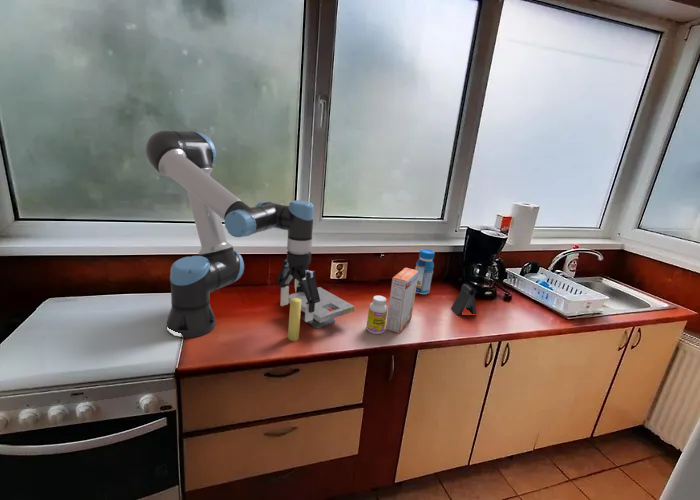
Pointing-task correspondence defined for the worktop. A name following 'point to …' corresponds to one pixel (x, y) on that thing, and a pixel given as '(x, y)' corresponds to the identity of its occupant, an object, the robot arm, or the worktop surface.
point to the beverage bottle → (424, 271)
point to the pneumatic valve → (298, 286)
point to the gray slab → (324, 307)
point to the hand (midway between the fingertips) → (296, 312)
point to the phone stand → (465, 300)
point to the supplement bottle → (377, 315)
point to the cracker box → (401, 299)
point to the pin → (294, 319)
